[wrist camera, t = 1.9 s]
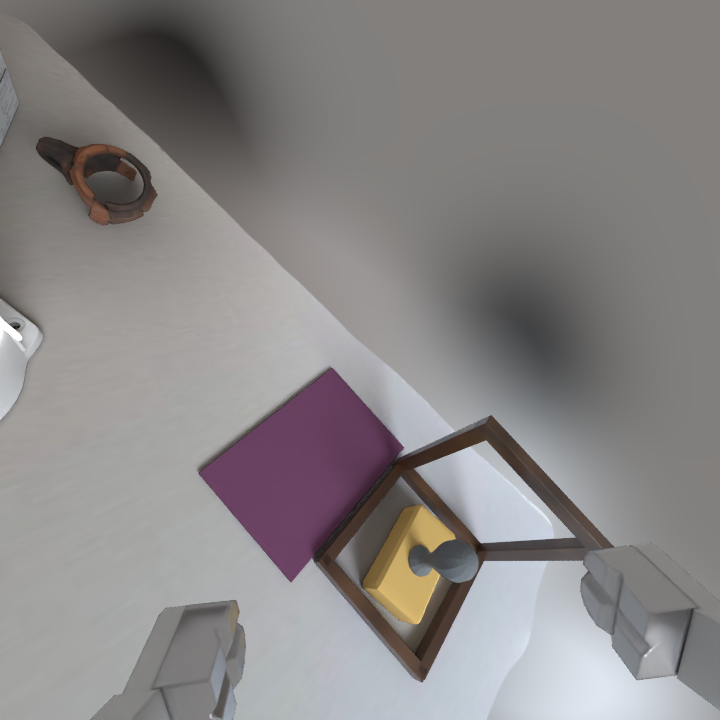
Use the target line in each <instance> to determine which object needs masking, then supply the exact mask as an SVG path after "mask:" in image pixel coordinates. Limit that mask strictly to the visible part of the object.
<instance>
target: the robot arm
mask: <svg viewBox="0 0 720 720" xmlns="http://www.w3.org/2000/svg"><path fill="white" fill-rule="evenodd" d="M14 326H20V328H18V329H16V330H14V329H13V328H12V327H14ZM42 339H43V334H42V332H41V331H40V330H39V328H38V327H37V326H36V325H34V324H33V323H32V322H31V321H29V320H28V319H27V318H25V317H24V316H23V315H21V314H20V313H19V312H17V311H16V310H15V309H14V308H12V307H11V306H10V305H8V304H7V303H6V302H4V301H3V300H2V299H1V298H0V420H1V419H2V418H3V417H4V416H5V415H6V414H7V413H8V412H9V410H10V409H11V408H12V406H13V405H14V403H15V402H16V400H17V398H18V396H19V394H20V392H21V390H22V387H23V383H24V378H25V371H26V366H27V363H28V360H29V359H30V357H31V356H32V355H33V354H34V352H35V351H36V350H37V348H38V347H39V345H40V344H41V342H42ZM583 565H584V566H585V567H586V568H587V570H588V572H587V573H586V574H585V575H584V577H583V578H582V579H581V589H580V592H581V595H582V599H583V603H584V605H585V607H586V609H587V611H588V613H589V615H590V616H591V618H592V619H593V621H594V622H595V623H596V625H597V626H598V627H600V628H601V629H603V630H604V631H606V632H607V633H609V634H610V635H611V638H612V647H613V649H614V650H615V651H616V653H617V654H618V655H619V657H620V658H621V660H622V661H623V662H624V664H625V665H626V666H627V668H628V669H629V671H630V672H631V673H632V675H633V676H634V677H635V679H636V680H643V679H651V678H659V677H666V676H675V675H677V679H679V680H680V681H681V682H683V683H684V684H685V685H687V686H688V687H689V688H691V689H692V690H693V691H695V692H696V693H697V694H699V695H700V696H701V697H703V698H704V699H705V700H707V701H708V702H709V703H711V704H712V705H713V706H715V707H716V708H717V709H719V710H720V601H719V600H718V599H717V598H716V597H715V596H714V595H713V594H712V593H711V592H709V591H708V590H707V589H706V588H705V587H704V586H703V585H702V584H700V583H699V582H698V581H697V580H696V579H695V578H694V577H692V576H691V575H690V574H689V573H688V572H687V571H686V570H684V569H683V568H682V567H681V566H680V565H679V564H678V563H677V562H676V561H674V560H673V559H672V558H671V557H670V556H669V555H668V554H666V553H665V552H664V551H663V550H662V549H661V548H660V547H658V546H657V545H655V544H652V543H644V544H637V545H630V546H621V547H614V548H607V549H600V550H594V551H588V552H587V553H586V554H585V556H584V562H583ZM239 612H240V611H239V608H238V604H237V601H236V600H230V601H221V602H212V603H202V604H193V605H186V606H178V607H169V608H165V609H164V610H163V611H162V612H161V613H160V615H159V616H158V618H157V620H156V622H155V624H154V627H153V629H152V631H151V633H150V635H149V637H148V639H147V642H146V644H145V646H144V648H143V650H142V652H141V654H140V657H139V659H138V661H137V663H136V665H135V667H134V669H133V672H132V674H131V676H130V678H129V680H128V682H127V685H126V687H125V689H124V691H123V693H122V694H119V695H114V696H113V697H112V698H111V699H110V700H109V701H108V702H107V703H106V704H105V705H104V706H103V707H102V708H101V709H100V710H99V711H98V712H97V713H96V714H95V715H94V716H93V717H92V718H91V719H90V720H233V719H234V714H235V709H236V700H235V696H234V692H233V690H234V688H235V687H236V686H237V684H238V683H239V682H240V680H241V679H242V674H243V668H244V662H245V648H246V645H245V634H244V629H243V626H241V625H240V624H239V623H237V621H238V616H239Z"/></svg>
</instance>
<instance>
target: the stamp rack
mask: <svg viewBox="0 0 720 720" xmlns="http://www.w3.org/2000/svg"><path fill="white" fill-rule="evenodd" d="M485 440H487V441H488V442H489V444H490V445H491V446H492V447H493V448H494V449H495V450H496V451H497V452H498V453H499V454H500V455H501V456H502V458H503V459H504V460H505V461H506V462H507V463H508V464H509V465H510V466H511V467H512V468H513V470H515V472H516V473H517V474H518V475H519V476H520V477H521V478H522V479H523V480H524V481H525V482H526V484H527V485H528V486H529V487H530V488H531V489H532V490H533V491H534V492H535V493H536V494H537V495H538V497H539V498H540V499H541V500H542V501H543V502H544V503H545V504H546V505H547V506H548V507H549V508H550V509H551V511H552V512H553V513H554V514H555V515H556V516H557V517H558V518H559V519H560V520H561V521H562V523H564V525H565V526H566V527H567V528H568V529H569V530H570V531H571V532H572V533H573V534H574V535H575V537H576V538H563V539H545V540H529V541H513V542H496V543H480V542H479V541H478V540H477V539H476V538H475V536H474V535H473V534H472V533H471V532H470V531H469V530H468V529H467V528H466V526H465V525H464V524H463V523H462V522H461V521H460V520H459V519H458V518H457V516H456V515H455V514H454V513H453V512H452V511H451V510H450V509H449V508H448V506H447V505H446V504H445V503H444V502H443V501H442V500H441V499H440V498H439V496H438V495H437V494H436V493H435V492H434V491H433V490H432V489H431V488H430V486H429V485H428V484H427V483H426V482H425V481H424V480H423V479H422V478H421V476H420V475H419V474H418V473H417V472H416V471H415V470H414V468H416V467H419V466H421V465H424V464H427V463H429V462H432V461H434V460H437V459H439V458H442V457H444V456H447V455H450V454H452V453H455V452H457V451H460V450H462V449H465V448H467V447H470V446H472V445H475V444H478V443H480V442H483V441H485ZM391 466H392V467H391V468H390V469H389V471H388V472H387V473H386V474H385V475H384V477H383V478H382V479H381V480H380V481H379V483H378V484H377V485H376V486H375V487H374V489H373V490H372V491H371V492H370V493H369V495H368V496H367V497H366V498H365V500H364V501H363V502H362V503H361V504H360V506H359V507H358V508H357V509H356V510H355V512H354V513H353V514H352V515H351V516H350V518H349V519H348V520H347V521H346V522H345V524H344V525H343V526H342V527H341V528H340V530H339V531H338V532H337V533H336V534H335V536H334V537H333V538H332V539H331V540H330V542H329V543H328V544H327V545H326V546H325V548H324V549H323V550H322V551H321V553H320V554H319V555H318V556H317V557H316V560H315V561H314V563H315V564H316V565H317V566H318V567H319V569H320V570H321V571H322V572H323V573H324V574H325V576H326V577H327V578H328V579H329V580H330V581H331V583H332V584H333V585H334V586H335V587H336V588H337V590H338V591H339V592H340V593H341V594H342V595H343V597H344V598H345V599H346V600H347V601H348V602H349V604H350V605H351V606H352V607H353V608H354V609H355V611H356V612H357V613H358V614H359V615H360V616H361V618H362V619H363V620H364V621H365V622H366V623H367V625H368V626H369V627H370V628H371V629H372V630H373V632H374V633H375V634H376V635H377V636H378V638H379V639H380V640H381V641H382V642H383V643H384V645H385V646H386V647H387V648H388V649H389V650H390V652H391V653H392V654H393V655H394V656H395V657H396V659H397V660H398V661H399V662H400V663H401V664H402V666H403V667H404V668H405V669H406V670H407V671H408V673H409V674H410V675H411V676H412V677H413V678H414V679H416V680H418V681H420V682H423V680H425V678H426V676H427V674H428V672H429V670H430V668H431V666H432V664H433V662H434V660H435V658H436V656H437V654H438V652H439V650H440V648H441V646H442V644H443V642H444V640H445V638H446V636H447V634H448V632H449V630H450V628H451V626H452V624H453V622H454V620H455V618H456V616H457V614H458V612H459V610H460V608H461V606H462V604H463V602H464V600H465V598H466V596H467V594H468V592H469V590H470V588H471V586H472V584H473V582H474V580H475V578H476V576H477V574H478V572H479V570H480V568H481V566H482V564H483V562H484V561H560V560H561V561H569V560H572V561H575V560H577V561H579V560H580V561H582V560H584V556H585V554H586V553H587V552H588V551H594V550H600V549H607V548H614V546H613V545H612V544H611V543H610V542H609V541H608V540H607V539H606V538H605V537H604V536H603V535H602V534H601V532H600V531H599V530H598V529H597V528H596V527H595V526H594V525H593V524H592V523H591V522H590V521H589V520H588V518H587V517H586V516H585V515H584V514H583V513H582V512H581V511H580V510H579V509H578V508H577V507H576V506H575V504H573V502H572V501H571V500H570V499H569V498H568V497H567V496H566V495H565V494H564V493H563V492H562V490H560V488H559V487H558V486H557V485H556V484H555V483H554V482H553V481H552V480H551V479H550V478H549V477H548V476H547V474H546V473H545V472H544V471H543V470H542V469H541V468H540V467H539V466H538V465H537V464H536V463H535V461H534V460H533V459H532V458H531V457H530V456H529V455H528V454H527V453H526V452H525V451H524V450H523V449H522V448H521V446H520V445H519V444H518V443H517V442H516V441H515V440H514V439H513V438H512V437H511V436H510V435H509V434H508V432H507V431H506V430H505V429H504V428H503V427H502V426H501V425H500V424H499V423H498V422H497V421H496V420H495V419H494V417H493V416H492V415H491V416H489V417H487V418H484V419H482V420H480V421H478V422H476V423H474V424H471V425H469V426H467V427H465V428H463V429H461V430H458V431H456V432H454V433H452V434H450V435H448V436H445V437H443V438H441V439H439V440H437V441H435V442H433V443H430V444H428V445H426V446H424V447H422V448H420V449H417V450H415V451H413V452H411V453H409V454H407V455H405V456H402V457H400V458H398V459H396V460H395V462H394V463H393V464H392V465H391ZM400 476H401V477H402V478H403V479H404V480H405V481H406V482H407V484H408V485H409V486H410V487H411V488H412V489H413V490H414V491H415V492H416V494H417V495H418V496H419V497H420V498H421V499H422V500H423V501H424V503H425V504H426V505H427V506H428V507H429V508H430V509H431V510H432V511H433V513H434V514H435V515H436V516H437V517H438V518H439V519H440V520H441V521H442V523H443V524H444V525H445V526H446V527H447V528H448V529H449V530H450V531H452V532H453V533H454V534H455V537H456V538H457V539H459V540H462V541H464V542H466V543H468V544H469V545H471V547H472V548H473V549H474V551H475V552H476V554H477V557H478V561H479V564H478V570H477V572H476V574H475V575H474V577H473V578H472V579H471V580H468V581H464V582H460V583H456V582H453V584H452V586H451V588H450V590H449V591H448V593H447V595H446V597H445V599H444V601H443V603H442V604H441V606H440V608H439V610H438V612H437V614H436V616H435V618H434V619H433V621H432V623H431V625H430V627H429V629H428V631H427V632H426V634H425V636H424V638H423V640H422V642H421V644H420V646H419V647H418V649H417V651H416V653H415V654H414V653H413V652H412V651H411V650H410V648H409V647H408V646H407V645H406V644H405V643H404V641H403V640H402V639H401V638H400V637H399V636H398V634H397V633H396V632H395V631H394V630H393V629H392V627H391V626H390V625H389V624H388V623H387V622H386V620H385V619H384V618H383V617H382V616H381V615H380V614H379V612H378V611H377V610H376V609H375V608H374V607H373V605H372V604H371V603H370V602H369V601H368V600H367V598H366V597H365V596H364V595H363V594H362V593H361V591H360V590H359V589H358V588H357V587H356V586H355V584H354V583H353V582H352V581H351V580H350V579H349V577H348V576H347V575H346V574H345V573H344V572H343V571H342V569H341V568H340V567H339V566H338V565H337V564H336V562H335V561H334V560H335V558H336V557H337V556H338V555H339V553H340V552H341V551H342V549H343V548H344V547H345V546H346V544H347V543H348V542H349V541H350V539H351V538H352V537H353V536H354V534H355V533H356V532H357V531H358V529H359V528H360V527H361V525H362V524H363V523H364V522H365V520H366V519H367V518H368V517H369V515H370V514H371V513H372V512H373V510H374V509H375V508H376V507H377V505H378V504H379V503H380V501H381V500H382V499H383V498H384V496H385V495H386V494H387V493H388V491H389V490H390V489H391V488H392V486H393V485H394V484H395V482H396V481H397V480H398V479H399V477H400Z"/></svg>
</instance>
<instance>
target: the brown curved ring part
mask: <svg viewBox="0 0 720 720" xmlns="http://www.w3.org/2000/svg"><path fill="white" fill-rule="evenodd" d="M36 150H37V152H38V154H39V155H40V156H41V157H42V158H43V159H44V160H45V161H46V162H48V163H49V164H50V165H52V166H53V167H54V168H56V169H57V170H58V171H60V172H61V173H62V174H63V175H64V176H65V178H66V180H67V182H68V183H69V184H70V185H74V186H75V188H76V190H77V191H78V193H79V195H80V197H81V198H82V199H83V201H84V202H85V203H86V204H87V205H88V206H89V207H91V212H90V214H89V217H90V219H91V220H93V221H95V222H97V223H99V224H101V225H108V223H109V222H110V223H111V224H118V223H124V222H129V221H132V220H135V219H138V218H140V217H142V216H143V215H144V214H143V212H147V211H149V209H150V207H151V205H152V203H153V201H154V199H155V198H156V197H157V193H156V191H155V189H154V187H153V186H152V184H151V175H150V171H149V170H148V169H147V167H146V166H145V165H144V164H142V163H141V162H140V161H139V160H138V159H137V158H136V157H135V156H133V155H132V154H130V153H128V152H126V151H125V150H123V149H120V148H118V147H115V146H111V145H105V144H91V145H89V146H84V147H80V148H78V147H74V146H72V145H69V144H67V143H65V142H63V141H61V140H57V139H53V138H49V137H43V138H40V139H39V140H38V143H37V146H36ZM120 158H123V159H126V160H127V161H129V162H130V163H132V164H133V165H134V166H135V167H136V168H137V170H138V171H139V173H140V174H141V176H142V179H143V182H144V188H143V192H142V194H141V196H140V197H139V198H138V199H137V200H135V201H133V202H131V203H127V204H115V203H110V202H107V201H106V206H107V207H106V206H105V205H103V204H101V203H99V202H98V201H97V200H96V199H95V193H94V192H93V191H92V190H91V189H90V188H89V186H88V185H87V183H86V181H85V178H84V176H85V177H86V178H88V177H89V176H91V175H92V174H94V173H96V172H101V171H113V172H117V173H119V174H121V175H123V176H125V177H127V178H129V179H130V180H132V181H133V180H134V178H135V175H136V174H137V172H136V171H135V170H134V169H133V168H131V167H130V166H128V165H127V164H126V163H124V162H123V161H121V160H120Z"/></svg>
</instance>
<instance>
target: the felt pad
mask: <svg viewBox="0 0 720 720" xmlns="http://www.w3.org/2000/svg"><path fill="white" fill-rule="evenodd" d="M403 448H404V447H403V446H402V445H401V444H400V442H399V441H398V440H397V439H396V438H395V437H394V436H393V435H392V434H391V432H390V431H389V430H388V429H387V428H386V427H385V426H384V425H383V424H382V423H381V421H380V420H379V419H378V418H377V417H376V416H375V415H374V414H373V413H372V411H371V410H370V409H369V408H368V407H367V406H366V405H365V404H364V403H363V401H362V400H361V399H360V398H359V397H358V396H357V395H356V394H355V393H354V391H353V390H352V389H351V388H350V387H349V386H348V385H347V384H346V383H345V382H344V380H343V379H342V378H341V377H340V376H339V375H338V374H337V373H336V372H335V370H334V369H333V368H331V369H330V370H329V371H328V372H326V373H325V374H324V375H323V376H321V377H320V378H319V379H318V380H316V381H315V382H314V383H312V384H311V385H310V386H309V387H307V388H306V389H305V390H304V391H302V392H301V393H300V394H298V395H297V396H296V397H295V398H293V399H292V400H291V401H290V402H288V403H287V404H286V405H284V406H283V407H282V408H281V409H279V410H278V411H277V412H276V413H274V414H273V415H272V416H270V417H269V418H268V419H267V420H265V421H264V422H263V423H262V424H260V425H259V426H258V427H256V428H255V429H254V430H253V431H251V432H250V433H249V434H248V435H246V436H245V437H244V438H242V439H241V440H240V441H239V442H237V443H236V444H235V445H234V446H232V447H231V448H230V449H228V450H227V451H226V452H225V453H223V454H222V455H221V456H220V457H218V458H217V459H216V460H214V461H213V462H212V463H211V464H209V465H208V466H207V467H206V468H204V469H203V470H202V471H200V472H199V475H200V476H201V477H202V478H203V479H204V480H205V482H206V483H207V484H208V485H209V486H210V488H211V489H212V490H213V491H214V492H215V493H216V495H217V496H218V497H219V498H220V499H221V501H222V502H223V503H224V504H225V505H226V506H227V508H228V509H229V510H230V511H231V512H232V514H233V515H234V516H235V517H236V518H237V519H238V521H239V522H240V523H241V524H242V525H243V527H244V528H245V529H246V530H247V531H248V532H249V534H250V535H251V536H252V537H253V538H254V540H255V541H256V542H257V543H258V544H259V545H260V547H261V548H262V549H263V550H264V551H265V553H266V554H267V555H268V556H269V557H270V558H271V560H272V561H273V562H274V563H275V564H276V566H277V567H278V568H279V569H280V570H281V571H282V573H283V574H284V575H285V576H286V577H287V579H288V580H289V581H290V582H292V581H293V580H294V578H295V577H296V576H297V575H298V574H299V572H300V571H301V570H302V569H303V568H304V566H305V565H306V564H307V563H308V562H309V561H310V559H311V558H312V557H313V556H314V555H315V553H316V552H317V551H318V550H319V549H320V547H321V546H322V545H323V544H324V543H325V541H326V540H327V539H328V538H329V537H330V535H331V534H332V533H333V532H334V531H335V530H336V528H337V527H338V526H339V525H340V524H341V522H342V521H343V520H344V519H345V518H346V516H347V515H348V514H349V513H350V512H351V510H352V509H353V508H354V507H355V506H356V504H357V503H358V502H359V501H360V500H361V499H362V497H363V496H364V495H365V494H366V493H367V491H368V490H369V489H370V488H371V487H372V485H373V484H374V483H375V482H376V481H377V479H378V478H379V477H380V476H381V475H382V473H383V472H384V471H385V470H386V469H387V468H388V466H389V465H390V464H391V463H392V462H393V460H394V459H395V458H396V457H397V456H398V454H399V453H400V452H401V451H402V450H403Z"/></svg>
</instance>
